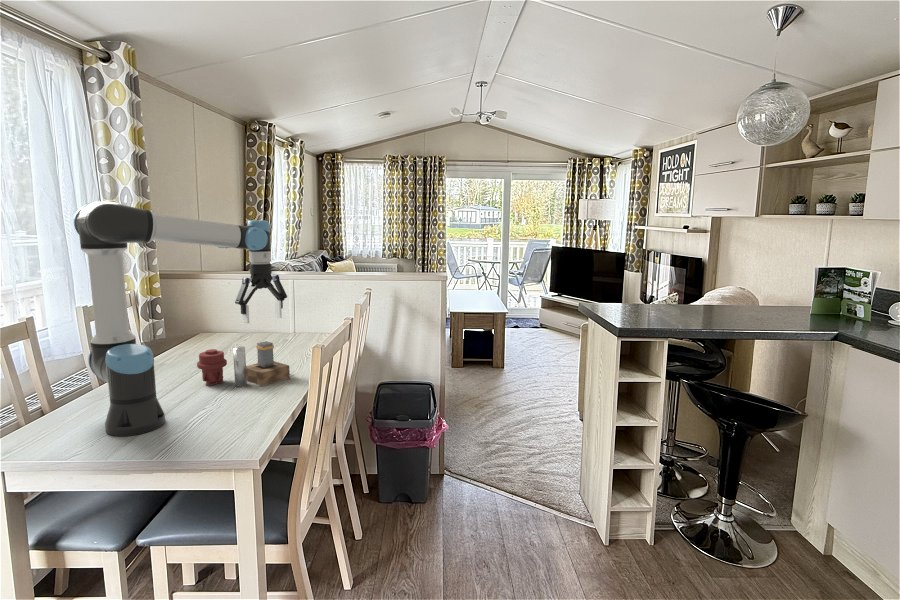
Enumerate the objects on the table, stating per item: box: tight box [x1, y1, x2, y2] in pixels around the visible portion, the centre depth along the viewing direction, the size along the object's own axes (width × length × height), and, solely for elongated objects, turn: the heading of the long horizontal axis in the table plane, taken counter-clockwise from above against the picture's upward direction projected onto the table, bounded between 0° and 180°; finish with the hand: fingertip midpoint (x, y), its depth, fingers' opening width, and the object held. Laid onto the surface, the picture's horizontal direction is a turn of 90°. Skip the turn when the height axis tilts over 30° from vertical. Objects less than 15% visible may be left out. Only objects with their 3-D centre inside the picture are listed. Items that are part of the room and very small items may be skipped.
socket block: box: [246, 360, 291, 387], centre depth 201 cm, size 12×12×5 cm
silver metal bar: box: [232, 345, 248, 388], centre depth 193 cm, size 4×4×14 cm
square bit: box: [255, 341, 275, 369], centre depth 200 cm, size 4×4×14 cm
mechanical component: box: [196, 348, 228, 386], centre depth 195 cm, size 12×10×10 cm
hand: (263, 320), depth 197 cm, fingers open, 13 cm apart
